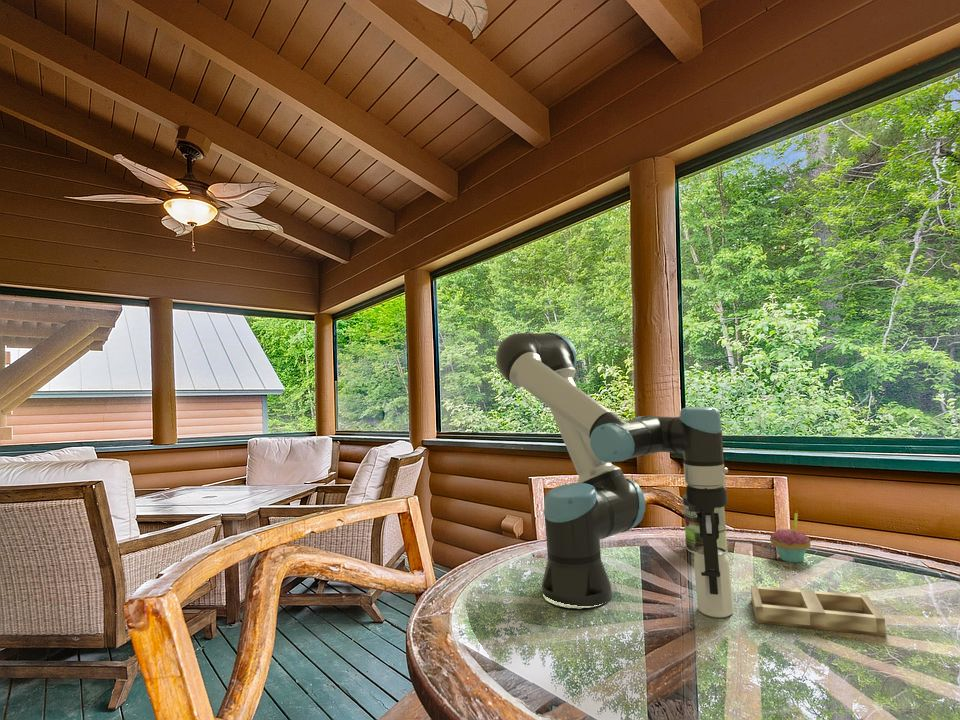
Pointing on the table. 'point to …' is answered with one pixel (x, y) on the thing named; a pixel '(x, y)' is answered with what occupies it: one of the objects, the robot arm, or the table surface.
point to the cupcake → (791, 543)
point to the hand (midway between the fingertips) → (714, 599)
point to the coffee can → (694, 531)
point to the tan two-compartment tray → (817, 610)
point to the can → (725, 584)
